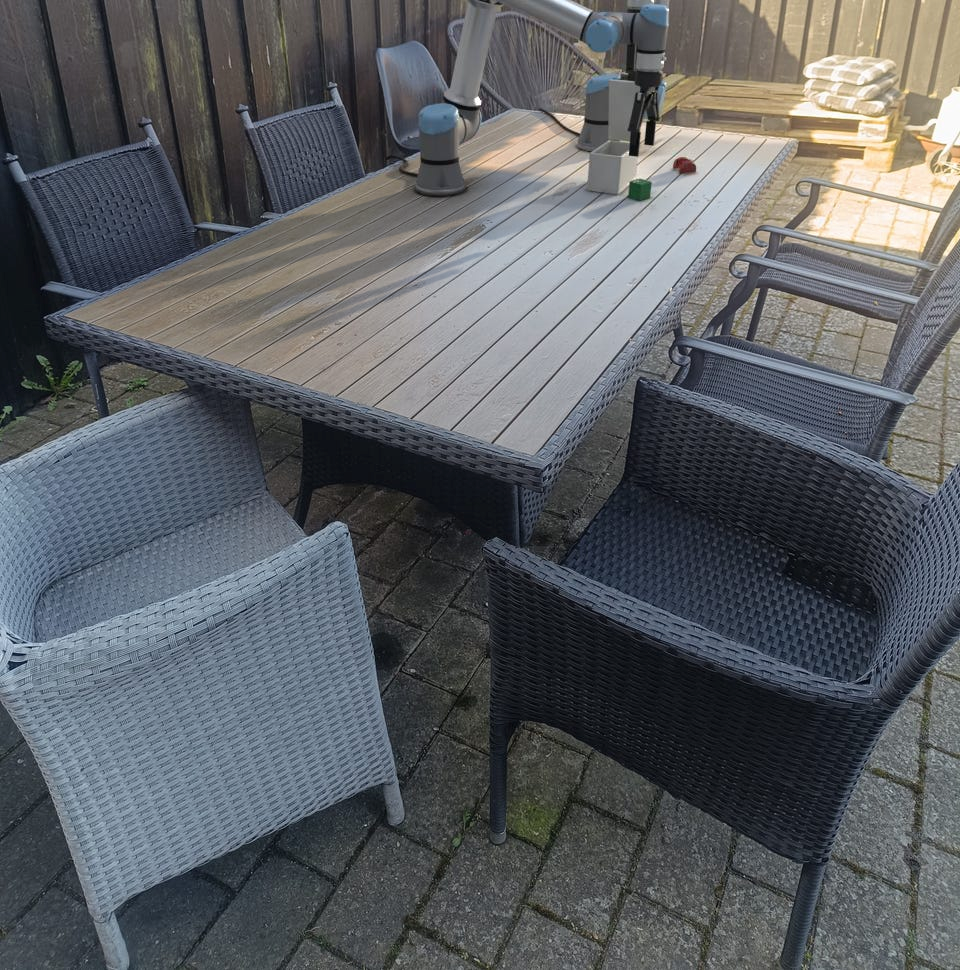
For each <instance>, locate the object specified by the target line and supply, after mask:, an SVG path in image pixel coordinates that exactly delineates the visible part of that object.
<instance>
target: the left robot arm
mask: <svg viewBox="0 0 960 970" xmlns="http://www.w3.org/2000/svg"><path fill="white" fill-rule="evenodd" d="M503 6H505V7H507V8H509V9H512V10H514V11H516V12H518V13H520V14H522V15H524V16H526V17H528V18H531V19H533V20H536V21H538V22H540V23H541V24H544V25H545V26H547V27H550V28H552V29H555V30H557V31H559V32H561V33H563V34H565V35H567V36H569V37H571V38H574V39H576V40H578V41H580V42H582V43H583V44H585V45H586V46H587V47H588V49H590V50H591V51H592V52H594V53H599V54H600V53H606V52H609V51H611V50H612V49H613V48H615V47H617V46H619V45H627V44H632V45H635V44H636V45H638V49H637V58H636V68H637V69H638V70H636V71H635V81H634V83H635V85H636V86H639V87H640V92H639V93H638V92H636V93H635V100H634V105H633V110H632V114H631V119H630V123H629V127H628V131H629V132H631V135H630V142H629V143H630V146H629V156H635V157H638V158H639V155H640V147H641V136H642V131H641V129H640V128H642V125H643V122H644V120H645V119H644V115H645V112H647V117H648V119H647V120H646V123H645V130H644V143H643V145H644V146H650V147H651V146H652V147H653V146H655V138H656V128H657V122H660V120H661V119H660V118H661V117H660V113H659V86H660V85H661V84H662V77H663V78H664V75H663V74H664V71H663V68H664V66H665V61H667V57H666V56H665V55H666V47H667V38H668V31H669V26H670V25H669V16H670V15H669V14H670V9H669V7H667V6H665V5H658V4H653V5H651V4H649V5H643V6H642V7H641V11H640V13H627V12H617V11H601V12H596V11H594V10H593V9H590V8H588V7H586V6H584V5H582V4H580V3H578V2H576V1H573V0H467V5H466V8H465V9H466V10H465V15H464V20H463V23H462V29H461V34H460V39H459V43H458V48H457V54H456V57H455V62H454V68H453V72H452V78H451V82H450V87H449V88H447V90H445V91H444V92H443V96H442V101H441V102H440V103H433V104H429V105H427V106H425V107H422V109H421V110H420V111H419V113H418V122H417V124H418V136H419V138H418V139H419V157H420V158H419V159H420V161H419V162H420V164H419V168H418V172H412V171H407V170H405V169H404V168H406V167H407V166H408V165H409V161H408V160H407V159H406V158H404V157H402V156H400V155H397V154H389V155H388V156H386V157H385V160H386V161H389V160H390V159H397V160H399V161H402V162H403V164H401V165H400V166H399V168H398V170H399V172H400V173H402V174H403V175H407V176H411V177H415V178H416V180H415V183H414V184H415V185H414V186H415V192H417V193H418V194H420V195H424V196H430V197H450V196H455V195H459V194H461V193H463V192H464V191H466V181H465V179H464V176H463V172H462V169H461V165H460V146H461V145H463V144H464V143H466V142H468V141H470V140H472V139H473V138H474V137H475V136H476V134H478V132H479V130H480V128H481V126H482V119H483V117H482V112H481V106H482V100H481V99H480V97H479V93H480V87H481V85H482V79H483V75H484V70H485V66H486V61H487V57H488V52H489V47H490V43H491V39H492V36H493V30H494V26H495V23H496V18H497V14H498V13H497V12H498V10H499V9H500V8H502V7H503ZM635 126H636V127H635Z"/></svg>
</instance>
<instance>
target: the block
mask: <svg viewBox="0 0 960 970" xmlns="http://www.w3.org/2000/svg"><path fill="white" fill-rule="evenodd" d="M652 185H653V182H652V181H650V180H648V179H647V180H646V179H644V178H636V180H633V181H630V183H629V186H628V194H627V197H628V198H629V199H632V200H633V199H634V200H637V201H643V200H646V199H650V198H651V193H652Z"/></svg>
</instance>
